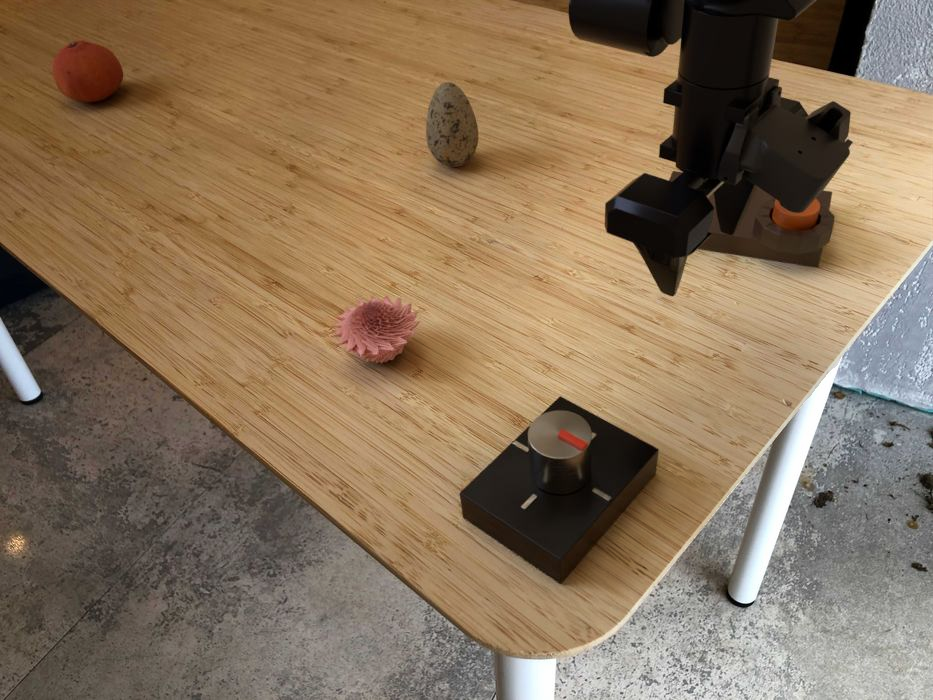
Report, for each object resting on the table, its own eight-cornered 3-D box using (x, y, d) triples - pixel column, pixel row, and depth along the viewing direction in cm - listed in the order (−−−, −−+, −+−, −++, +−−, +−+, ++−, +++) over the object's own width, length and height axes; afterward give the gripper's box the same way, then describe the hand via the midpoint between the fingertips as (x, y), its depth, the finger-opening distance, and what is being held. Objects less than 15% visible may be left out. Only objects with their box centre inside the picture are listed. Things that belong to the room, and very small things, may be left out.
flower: (403, 393, 73) (393, 345, 69) (321, 375, 75) (307, 328, 71) (438, 333, 78) (431, 286, 74) (360, 318, 80) (350, 271, 77)
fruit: (52, 110, 119) (27, 54, 114) (92, 81, 125) (71, 27, 120) (102, 116, 116) (79, 60, 111) (141, 86, 122) (121, 32, 117)
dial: (517, 474, 61) (514, 435, 58) (554, 437, 64) (553, 398, 61) (566, 505, 59) (566, 466, 56) (603, 466, 61) (604, 426, 58)
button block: (832, 210, 86) (841, 176, 84) (821, 277, 79) (830, 242, 76) (671, 188, 92) (674, 155, 89) (646, 249, 84) (648, 215, 82)
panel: (560, 421, 69) (560, 394, 67) (656, 474, 64) (659, 447, 62) (462, 517, 63) (458, 491, 61) (560, 584, 58) (560, 559, 56)
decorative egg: (454, 145, 102) (445, 66, 96) (491, 160, 99) (485, 79, 92) (419, 167, 99) (408, 87, 93) (456, 182, 96) (447, 101, 89)
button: (818, 211, 81) (822, 195, 79) (814, 234, 78) (818, 219, 77) (774, 205, 82) (777, 189, 81) (769, 228, 79) (772, 212, 78)
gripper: (777, 169, 46) (738, 374, 56) (904, 41, 56) (851, 236, 66) (602, 118, 52) (597, 312, 62) (746, 10, 61) (720, 194, 72)
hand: (699, 262), depth 66 cm, fingers open, 9 cm apart
